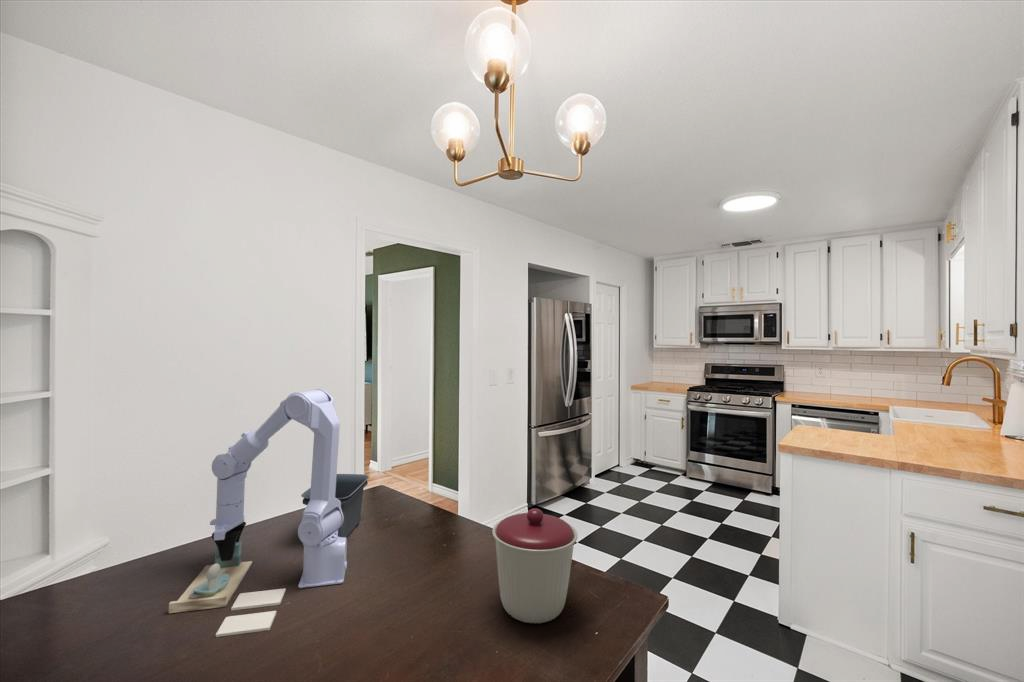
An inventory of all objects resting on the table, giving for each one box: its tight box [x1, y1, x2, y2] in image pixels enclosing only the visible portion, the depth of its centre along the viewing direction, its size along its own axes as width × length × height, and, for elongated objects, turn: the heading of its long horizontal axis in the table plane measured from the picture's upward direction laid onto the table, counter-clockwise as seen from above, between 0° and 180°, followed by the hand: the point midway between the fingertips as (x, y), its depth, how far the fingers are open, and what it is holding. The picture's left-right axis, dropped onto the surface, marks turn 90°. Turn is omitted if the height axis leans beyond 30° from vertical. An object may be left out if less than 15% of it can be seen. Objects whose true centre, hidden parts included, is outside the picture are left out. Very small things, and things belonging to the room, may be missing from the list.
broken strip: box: [215, 588, 286, 638], centre depth 90 cm, size 9×14×1 cm, turn 16°
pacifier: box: [189, 563, 230, 598], centre depth 95 cm, size 7×6×6 cm
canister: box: [491, 508, 578, 624], centre depth 94 cm, size 18×18×21 cm
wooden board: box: [168, 541, 253, 614], centre depth 99 cm, size 10×19×5 cm, turn 16°
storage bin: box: [301, 473, 370, 539], centre depth 128 cm, size 21×16×14 cm
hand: (228, 557), depth 107 cm, fingers closed on wooden board, 2 cm apart
